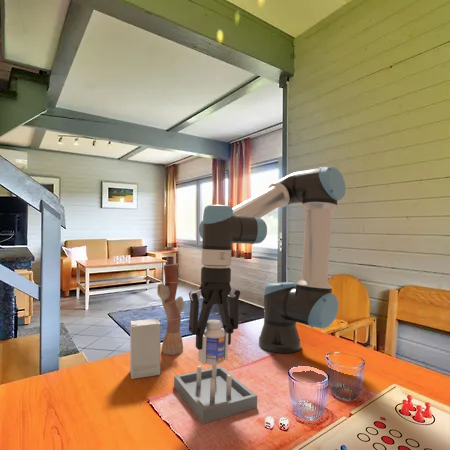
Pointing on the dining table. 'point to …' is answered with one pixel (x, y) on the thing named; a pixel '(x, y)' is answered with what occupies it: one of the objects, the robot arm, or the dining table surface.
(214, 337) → the pill bottle
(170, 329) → the wooden tree sculpture
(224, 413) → the tray
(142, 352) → the skincare box
